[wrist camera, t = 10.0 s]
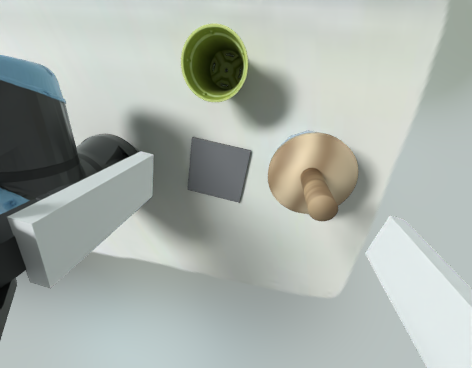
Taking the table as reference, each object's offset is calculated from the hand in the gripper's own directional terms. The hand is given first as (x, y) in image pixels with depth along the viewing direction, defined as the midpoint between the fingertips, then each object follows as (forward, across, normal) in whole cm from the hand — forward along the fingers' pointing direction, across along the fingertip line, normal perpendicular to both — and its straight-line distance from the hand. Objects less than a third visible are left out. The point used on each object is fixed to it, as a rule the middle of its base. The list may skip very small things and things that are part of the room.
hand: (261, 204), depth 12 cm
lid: (+24, +9, -6) cm, 27 cm away
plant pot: (+30, -10, +7) cm, 33 cm away
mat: (+30, -8, -12) cm, 33 cm away
